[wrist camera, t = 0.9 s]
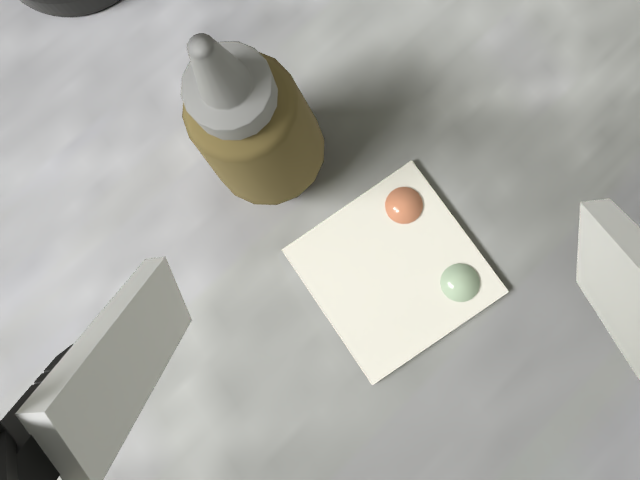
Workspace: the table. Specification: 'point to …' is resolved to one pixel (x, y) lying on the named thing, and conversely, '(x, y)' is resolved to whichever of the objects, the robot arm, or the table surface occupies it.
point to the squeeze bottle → (250, 121)
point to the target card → (394, 272)
